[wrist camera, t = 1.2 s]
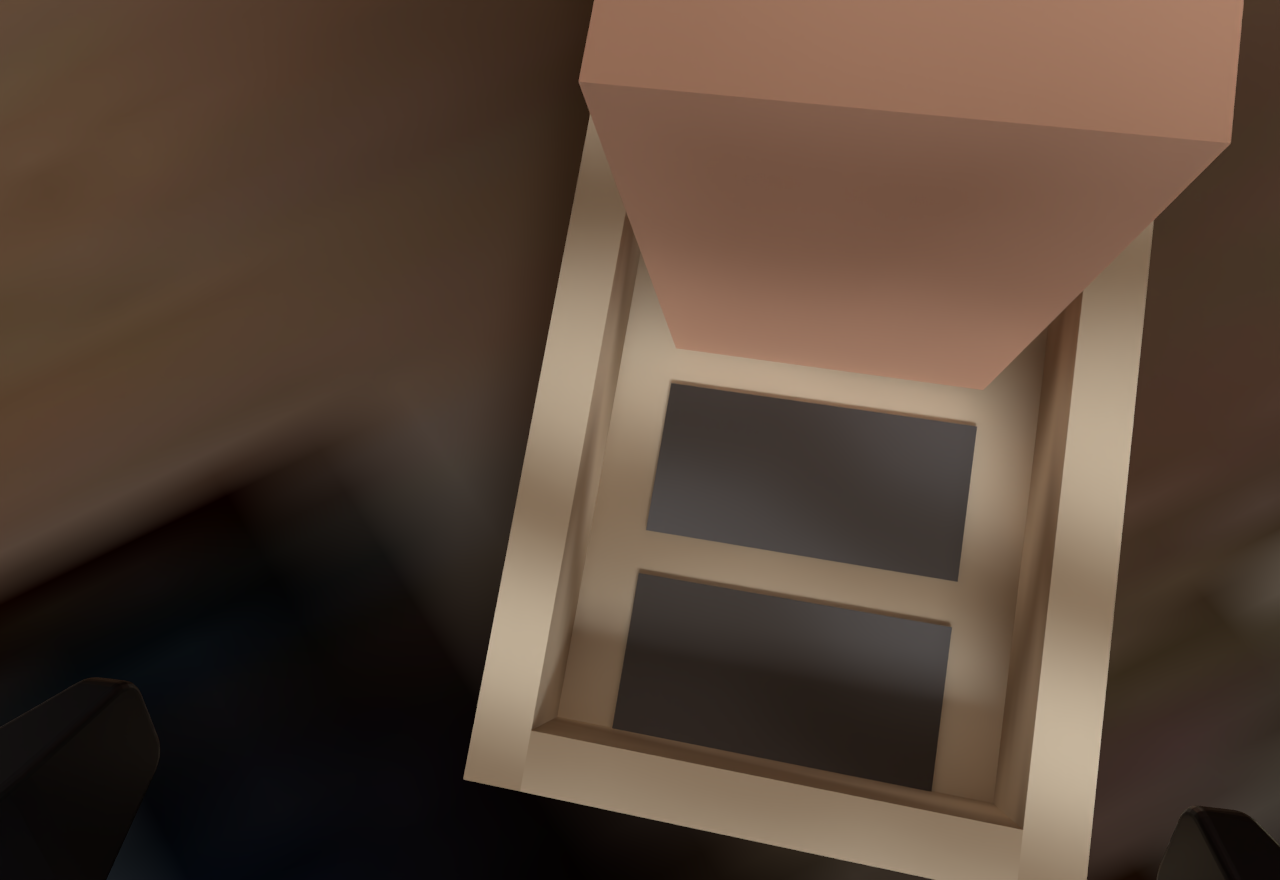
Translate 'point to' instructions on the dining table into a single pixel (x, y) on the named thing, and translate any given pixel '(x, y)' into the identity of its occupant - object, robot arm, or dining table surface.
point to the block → (898, 164)
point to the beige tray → (813, 581)
